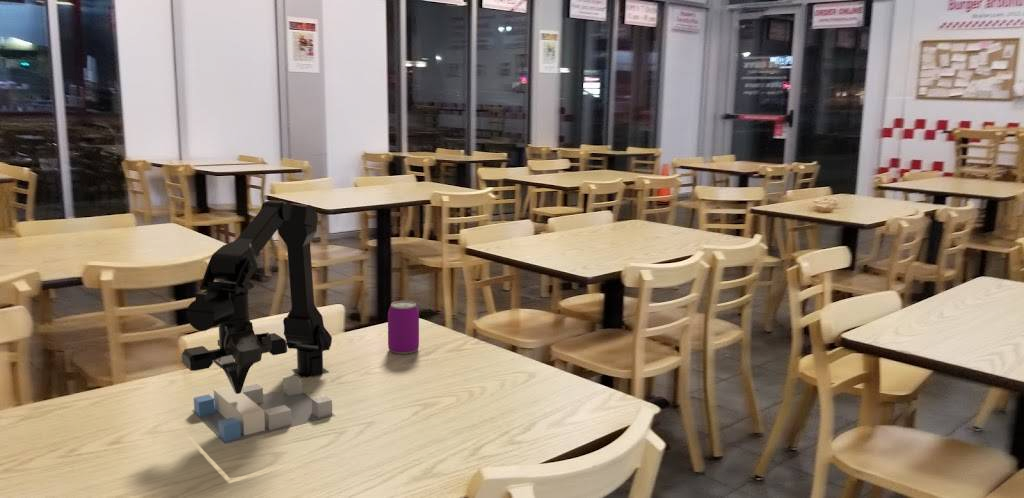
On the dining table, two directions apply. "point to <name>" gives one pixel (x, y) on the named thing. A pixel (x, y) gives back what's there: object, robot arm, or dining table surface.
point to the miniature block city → (267, 410)
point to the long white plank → (239, 409)
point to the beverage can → (403, 327)
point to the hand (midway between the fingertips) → (237, 393)
